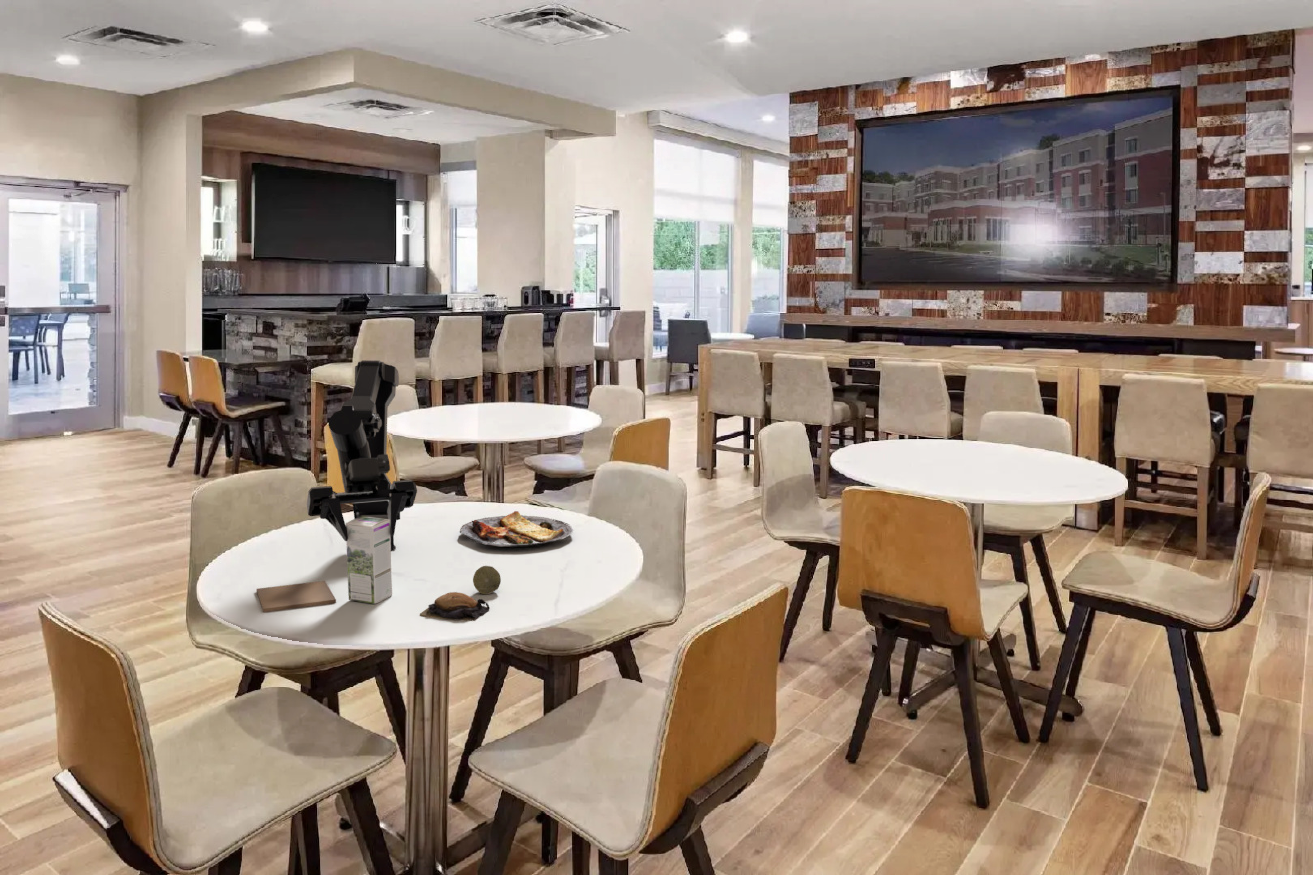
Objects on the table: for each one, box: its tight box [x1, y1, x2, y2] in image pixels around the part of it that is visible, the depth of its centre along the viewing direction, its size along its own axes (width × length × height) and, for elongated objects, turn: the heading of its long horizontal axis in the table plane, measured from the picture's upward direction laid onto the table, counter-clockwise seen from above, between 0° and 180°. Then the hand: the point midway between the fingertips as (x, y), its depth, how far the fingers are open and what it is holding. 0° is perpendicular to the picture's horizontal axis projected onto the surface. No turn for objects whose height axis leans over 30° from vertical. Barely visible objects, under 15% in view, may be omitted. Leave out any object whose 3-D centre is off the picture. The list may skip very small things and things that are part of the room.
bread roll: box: [419, 591, 490, 622], centre depth 171 cm, size 11×8×4 cm
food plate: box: [459, 510, 574, 548], centre depth 221 cm, size 25×23×4 cm
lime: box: [472, 565, 502, 595], centre depth 181 cm, size 4×5×5 cm
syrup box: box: [345, 516, 393, 604], centre depth 176 cm, size 6×6×14 cm
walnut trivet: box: [256, 580, 337, 613], centre depth 177 cm, size 12×12×1 cm
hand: (370, 537), depth 174 cm, fingers closed on syrup box, 8 cm apart
